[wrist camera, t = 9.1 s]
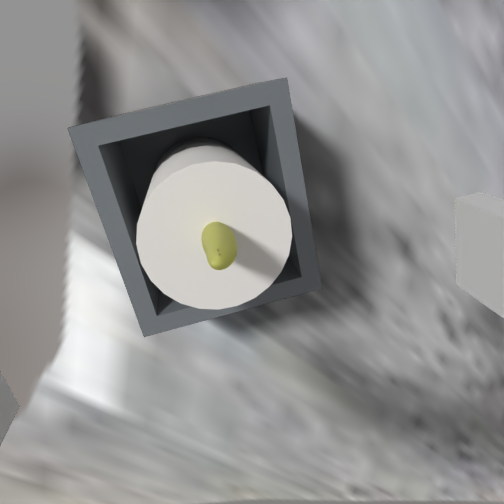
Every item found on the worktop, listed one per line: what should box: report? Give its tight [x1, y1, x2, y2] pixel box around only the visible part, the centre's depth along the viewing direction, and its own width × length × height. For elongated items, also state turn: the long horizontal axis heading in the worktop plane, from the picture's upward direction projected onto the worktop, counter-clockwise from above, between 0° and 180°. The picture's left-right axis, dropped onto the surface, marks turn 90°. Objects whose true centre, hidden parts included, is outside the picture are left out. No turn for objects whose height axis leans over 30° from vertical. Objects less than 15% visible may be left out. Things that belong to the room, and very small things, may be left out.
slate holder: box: [68, 78, 322, 337], centre depth 24 cm, size 11×10×7 cm
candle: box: [136, 137, 292, 310], centre depth 20 cm, size 6×6×15 cm
